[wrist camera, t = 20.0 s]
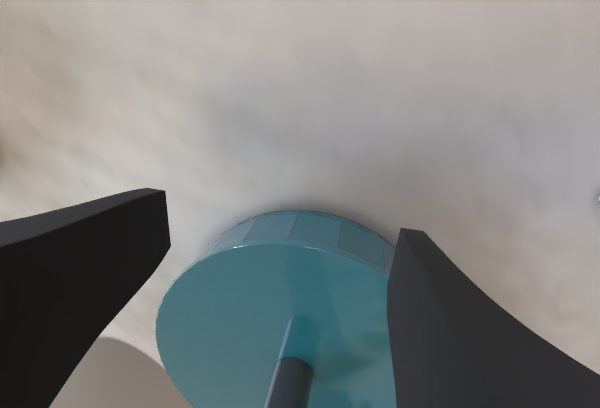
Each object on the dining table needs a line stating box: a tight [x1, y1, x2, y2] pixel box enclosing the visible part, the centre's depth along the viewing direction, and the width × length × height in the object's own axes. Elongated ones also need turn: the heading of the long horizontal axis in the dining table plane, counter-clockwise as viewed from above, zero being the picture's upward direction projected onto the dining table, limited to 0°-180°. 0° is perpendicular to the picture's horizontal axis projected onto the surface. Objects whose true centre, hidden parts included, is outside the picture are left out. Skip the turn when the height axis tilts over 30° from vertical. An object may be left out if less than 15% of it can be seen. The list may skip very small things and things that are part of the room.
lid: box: [156, 239, 397, 408], centre depth 20 cm, size 18×18×5 cm
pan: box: [203, 211, 396, 273], centre depth 24 cm, size 17×17×4 cm
